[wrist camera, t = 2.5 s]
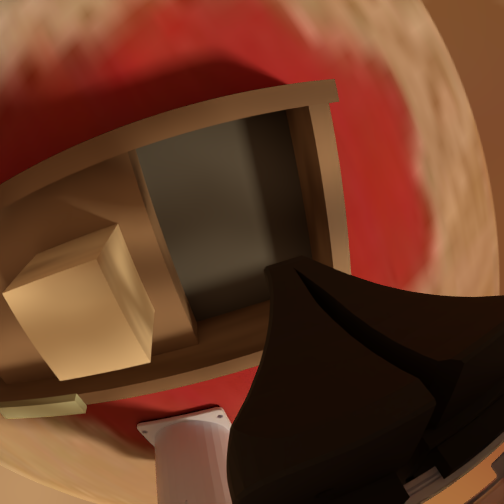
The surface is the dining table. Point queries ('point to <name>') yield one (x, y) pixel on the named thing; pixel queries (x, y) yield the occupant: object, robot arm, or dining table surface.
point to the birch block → (85, 306)
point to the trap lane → (180, 233)
